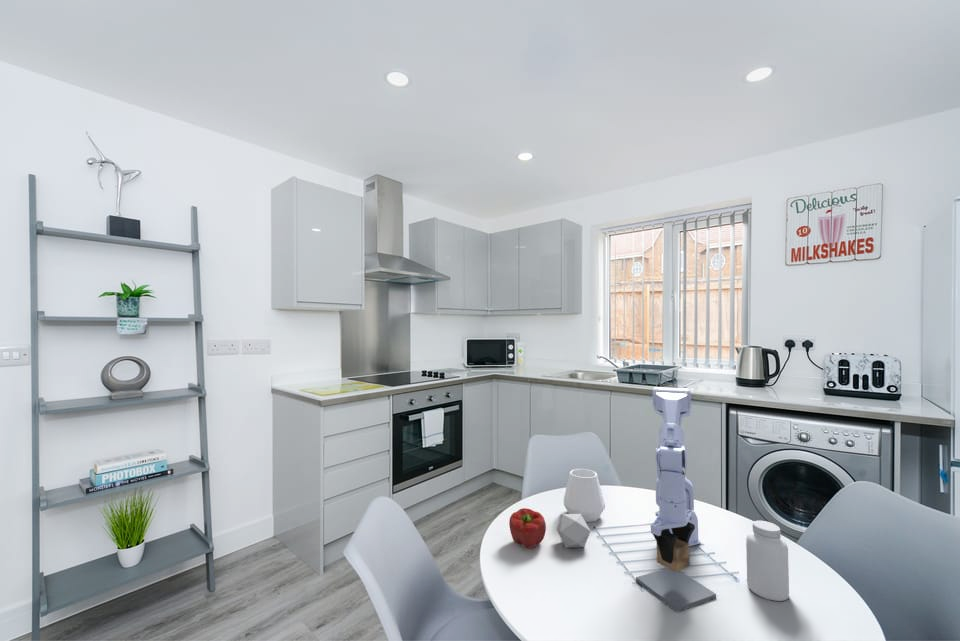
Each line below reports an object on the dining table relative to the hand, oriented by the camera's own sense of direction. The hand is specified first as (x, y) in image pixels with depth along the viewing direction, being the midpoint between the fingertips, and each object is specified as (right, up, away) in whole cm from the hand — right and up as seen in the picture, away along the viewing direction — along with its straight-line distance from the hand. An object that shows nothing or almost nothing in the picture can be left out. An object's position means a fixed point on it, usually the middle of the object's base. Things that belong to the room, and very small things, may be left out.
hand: (673, 557), depth 95 cm
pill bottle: (+21, -7, -1) cm, 22 cm away
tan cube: (0, -2, 0) cm, 2 cm away
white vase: (-11, -9, +38) cm, 41 cm away
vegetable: (-32, -9, +20) cm, 39 cm away
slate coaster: (0, -7, 0) cm, 7 cm away
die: (-19, -8, +20) cm, 29 cm away
